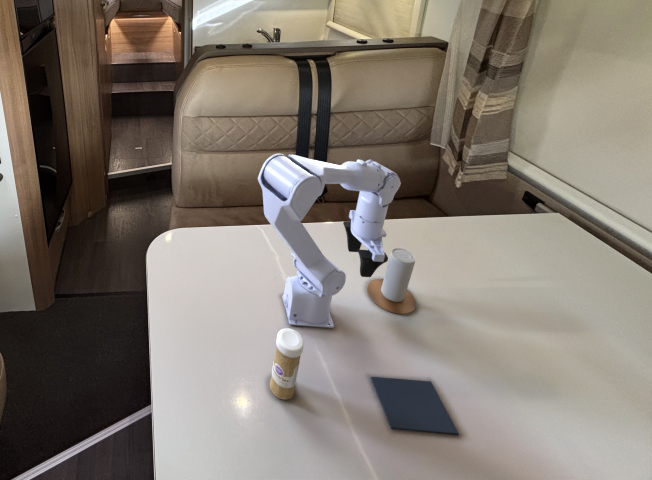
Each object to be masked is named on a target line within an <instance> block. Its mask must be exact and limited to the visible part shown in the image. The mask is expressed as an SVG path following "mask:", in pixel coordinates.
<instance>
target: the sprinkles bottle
mask: <svg viewBox="0 0 652 480" xmlns="http://www.w3.org/2000/svg"><path fill="white" fill-rule="evenodd" d="M275 339H276V340H275V345H276V346H275V352H274V358H273V362H272V368H271V376H270V380H269V389H270V391H271V393H272V394H273V395H274V396H275V397H276V398H277V399H280V400H285V401H286V400H289V399H291V398H293V397H294V395H295V386H296V383H297V379H298V378H297V377H298V372H299V367H300V363H301V362H300V360H301V355H302V354H303V351H304V345H305V341H304V339H303V337H302V335H301V334H300V333H299V332H298V331H296V330H295V329H293V328H288V327H285V328H281V329H280V330H279V331H278V332H277V334H276V338H275Z"/></svg>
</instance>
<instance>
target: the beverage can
mask: <svg viewBox="0 0 652 480" xmlns="http://www.w3.org/2000/svg"><path fill="white" fill-rule="evenodd" d="M415 263H416V257H415V255H414V254H413V253H412V252H410V251H409V250H407V249H406V248H405V249H404V248H400V247H395V248H393V249H392V250H391V252H390V253H389V257H388V261H387V265H386V269H385V273H384V277H383V279H384V280H383V284H382V287H381V292H382V294H383V295H384V296H385V297H386V298H387V299H389V300H390V301H393V302H401V301H403V300H404V297H405V294H406V291H407V290H408V288H409V283H410V280H411V278H412V275H413V271H414V267H415Z"/></svg>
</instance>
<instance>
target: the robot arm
mask: <svg viewBox="0 0 652 480" xmlns="http://www.w3.org/2000/svg"><path fill="white" fill-rule="evenodd" d="M287 156H288V157H287ZM287 156H286V154H283V153H279V152H278V153H274V154H272V155H270V156H269V157H267V159H266V160H265V161H264V162H263V164H262V166H261V167H260V171H259V174H258V175H257V181H258V183H259V186H260V188H261V190H262V204H263V214H264V217H265V219H266V220H267V221H268V223H269V224H270V225H271V227H272V228H273V229H274V231H275V232H276V234H277V235H278V236H279V237H280V238H281V240H282V242H283V243H284V244H285V245H286V247H287V248H288V249H289V250H290V255H291V257H292V264H293V267H294V268H296V275H292V276H287V277H286V278H285V284H284V291H283V294H282V301H283V304H284V309H285V312H286V316H287V320H288V323H289V325H291V326H299V327H313V328H327V329H334V328H335V324H334V321H333V319H332V316H331V313H330V308H331V304H332V298H333V296H336V295H337V294H339V293H340V291H341V290H343V288H344V286H345V284H346V281H347V276H346V273H345V272H344V271H343V270H341V269H339V268H338V267H337V266H336V265H335V264H334V263H333V262H332V261H330V260H329V259H328V258H327V257H326V256H325V255H324V253H323V252H322V251H321V249H320V248H319V246H318V245H317V243H316V242H315V240H314V238H313V237H312V236H311V235H310V233H309V231H308V230H307V228H306V227H305V225H304V224H303V223H302V221H303V220H304V218H305V217H306V215H307V214H308V212H309V211H310V209H311V208H312V206H313V205H314V204H315V202H316V201H317V199H318V198H319V197H321V195H322V194H323V192H324V189H325V186H326V185H340V186H341V187H342V188H343V189H345V190H347V191H351V192H359V193H358V198H357V202H356V208H355V210H354V209H350V210H349V214H348V218H349V220H344V221H343V223H342V225H343V227H344V230H345V234H346V243H347V250H348V252H349V253H358V256H359V263H360V264H359V275H360V276H361V278H372V276H373V275H374V274H375V272H376V271H377V270H378V268H379V267H380V266H382V265H384V264H385V263H388V261H389V257H388V255H387V253H386V252H384V246H383V245H384V244H383V238H386V237H387V232H386V231H385V229H384V224H385V220H386V216H387V213H388V209H389V204H391V203H392V202H393V201H394V197H395V195H396V193H397V192H398V190H399V189H400V188H401V184H402V182H401V179H400V177H399V175H398V173H396V172H395V171H394V170H391V169H390V168H388V167H386V166H384V165H382V164H380V163H379V162H377V161H374V160H373V159H367V160H366V161H364V160H363V159H356V161H352V160H350V161H349V160H348V161H345V162H343V163H342V164H340V165H339V164H335V163H330V162H327V161H326V162H325V161H321V160H317V159H313V158H312V159H311V158H307V157H304V156H300V155H296V154H288V155H287ZM362 246H364V247H365V248H366V249H361V247H362Z"/></svg>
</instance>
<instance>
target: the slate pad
mask: <svg viewBox="0 0 652 480" xmlns="http://www.w3.org/2000/svg"><path fill="white" fill-rule="evenodd" d="M370 380H371V383H372V386H373V388H374V391H375V393H376V396H377V397H378V399H379V402H380V405H381V407H382V410H383V412H384V415H385V417H386V420H387V422H388V424H389V426H390V429H391V430H397V431H406V432H418V433H427V434H440V435H450V436H459V434H460V433H459V431H458V429H457V427H456V425H455V424H454V421H453V420H452V418H451V416H450V414H449V413H448V410H447V408H446V407H445V405H444V403H443V401H442V399H441V398H440V395H439V394H438V392H437V390H436V388H435V386H434V385H433V382H432V381H430V380H420V379H419V380H418V379H405V378H395V377H394V378H393V377H381V376H370Z"/></svg>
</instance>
